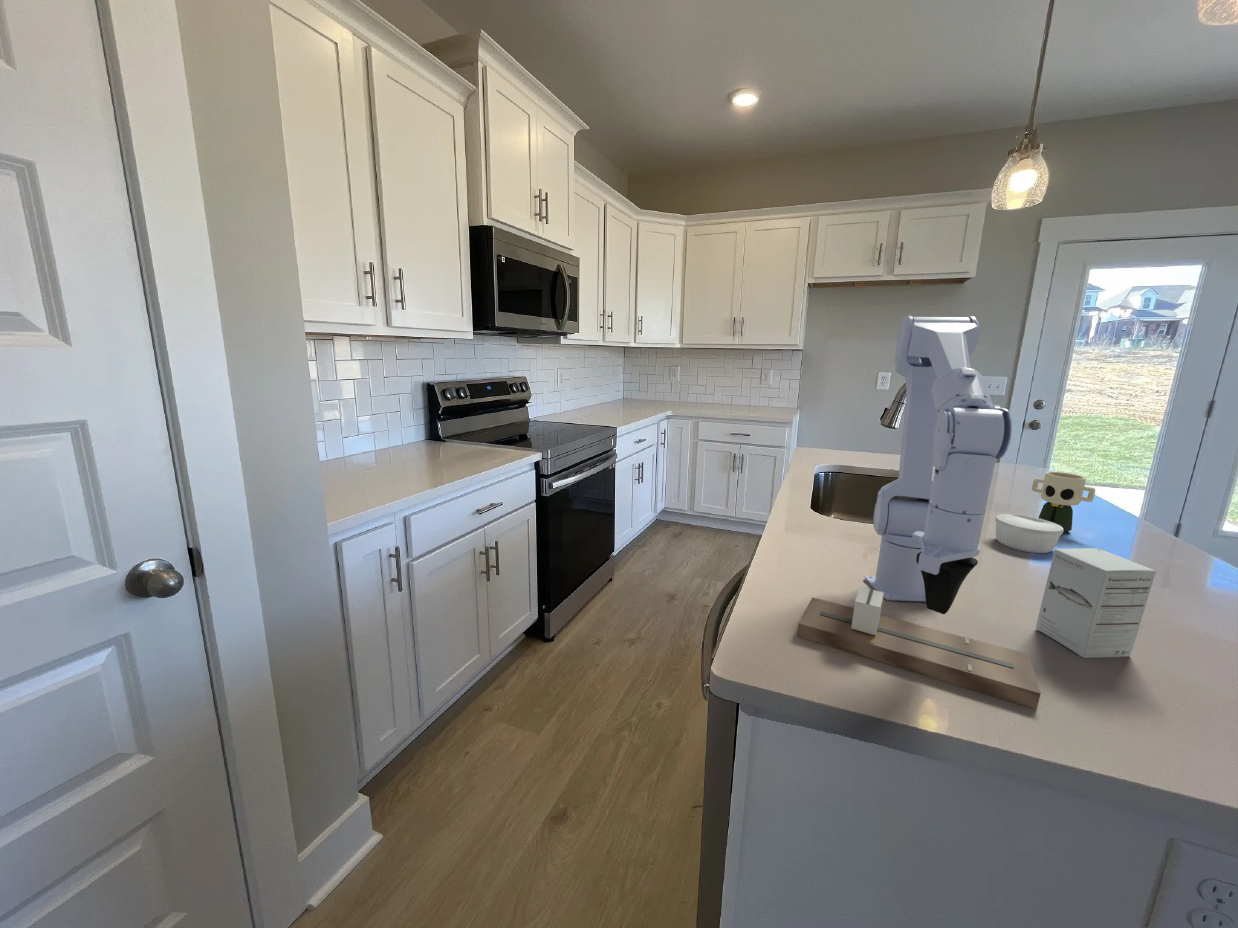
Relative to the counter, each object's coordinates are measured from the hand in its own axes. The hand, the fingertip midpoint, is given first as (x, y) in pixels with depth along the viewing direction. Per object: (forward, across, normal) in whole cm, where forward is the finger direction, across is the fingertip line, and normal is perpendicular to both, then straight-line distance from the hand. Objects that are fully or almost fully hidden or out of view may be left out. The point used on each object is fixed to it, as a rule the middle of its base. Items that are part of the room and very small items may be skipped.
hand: (937, 609), depth 64 cm
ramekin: (+8, -62, -1) cm, 62 cm away
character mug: (+8, -80, +1) cm, 80 cm away
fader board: (+7, +1, -2) cm, 7 cm away
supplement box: (+7, -21, +12) cm, 25 cm away
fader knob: (+5, +2, -7) cm, 9 cm away
